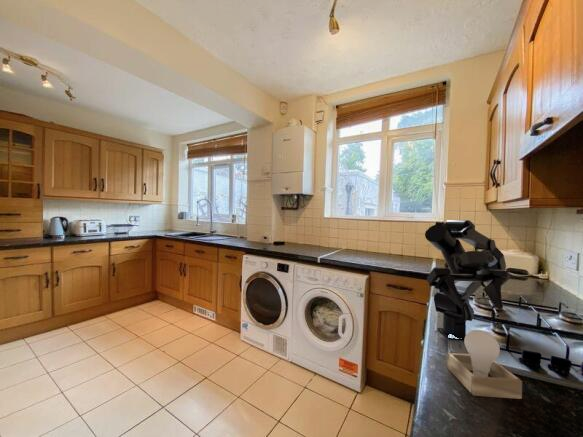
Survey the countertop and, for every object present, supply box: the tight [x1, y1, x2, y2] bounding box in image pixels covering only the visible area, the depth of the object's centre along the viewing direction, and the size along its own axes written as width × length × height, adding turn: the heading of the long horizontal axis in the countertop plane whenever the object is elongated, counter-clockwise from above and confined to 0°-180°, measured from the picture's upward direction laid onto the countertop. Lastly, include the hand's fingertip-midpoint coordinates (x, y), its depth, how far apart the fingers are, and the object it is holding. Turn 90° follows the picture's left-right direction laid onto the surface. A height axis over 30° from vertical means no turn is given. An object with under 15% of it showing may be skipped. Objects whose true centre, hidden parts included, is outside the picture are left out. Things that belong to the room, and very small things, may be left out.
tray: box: [446, 352, 523, 400], centre depth 53 cm, size 9×9×4 cm
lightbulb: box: [463, 329, 501, 377], centre depth 53 cm, size 6×6×11 cm
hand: (481, 308), depth 60 cm, fingers open, 9 cm apart
